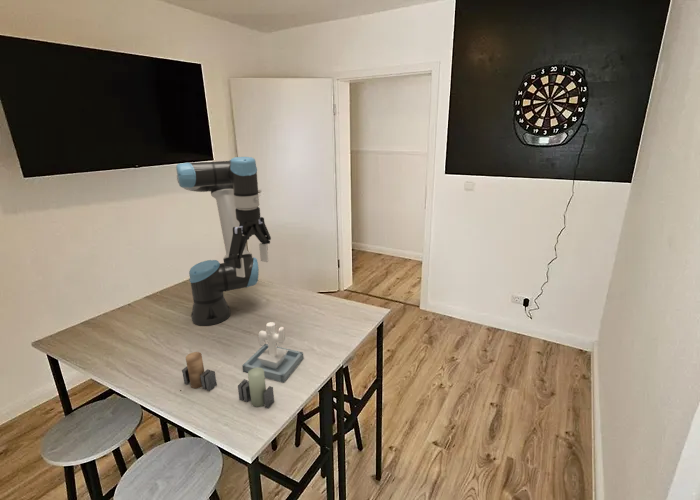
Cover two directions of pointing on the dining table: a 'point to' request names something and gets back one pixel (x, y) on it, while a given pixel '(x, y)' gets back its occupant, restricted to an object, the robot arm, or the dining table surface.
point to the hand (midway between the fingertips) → (253, 268)
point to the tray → (282, 370)
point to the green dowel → (257, 386)
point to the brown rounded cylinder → (195, 369)
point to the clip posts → (243, 388)
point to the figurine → (272, 346)
